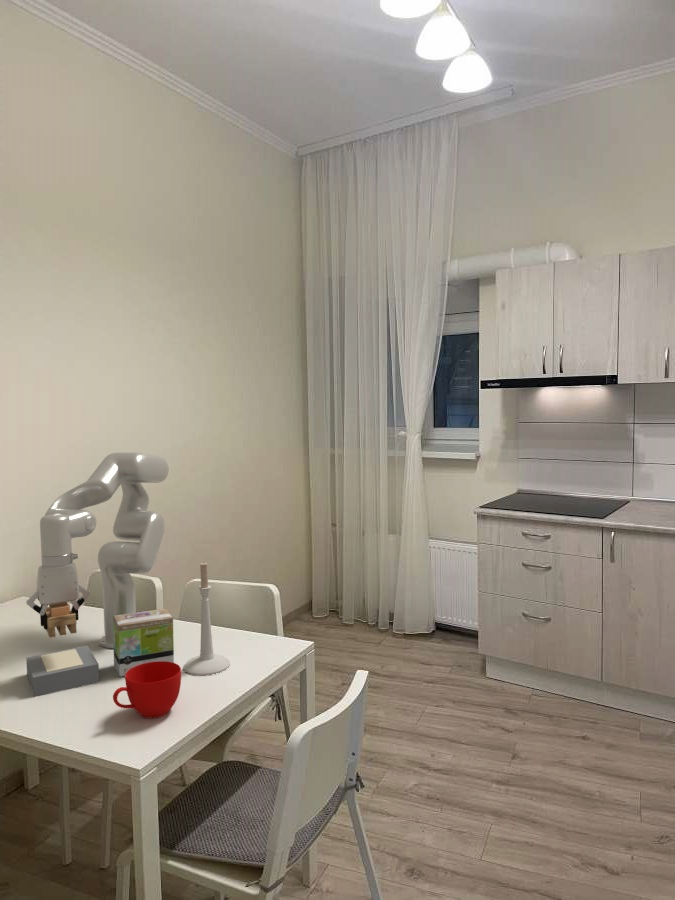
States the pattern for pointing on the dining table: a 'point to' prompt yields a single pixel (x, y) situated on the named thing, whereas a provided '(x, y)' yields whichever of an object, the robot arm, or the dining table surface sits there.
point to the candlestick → (206, 637)
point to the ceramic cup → (151, 688)
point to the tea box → (142, 639)
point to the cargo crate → (59, 609)
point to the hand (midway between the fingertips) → (59, 625)
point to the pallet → (61, 623)
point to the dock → (62, 670)
